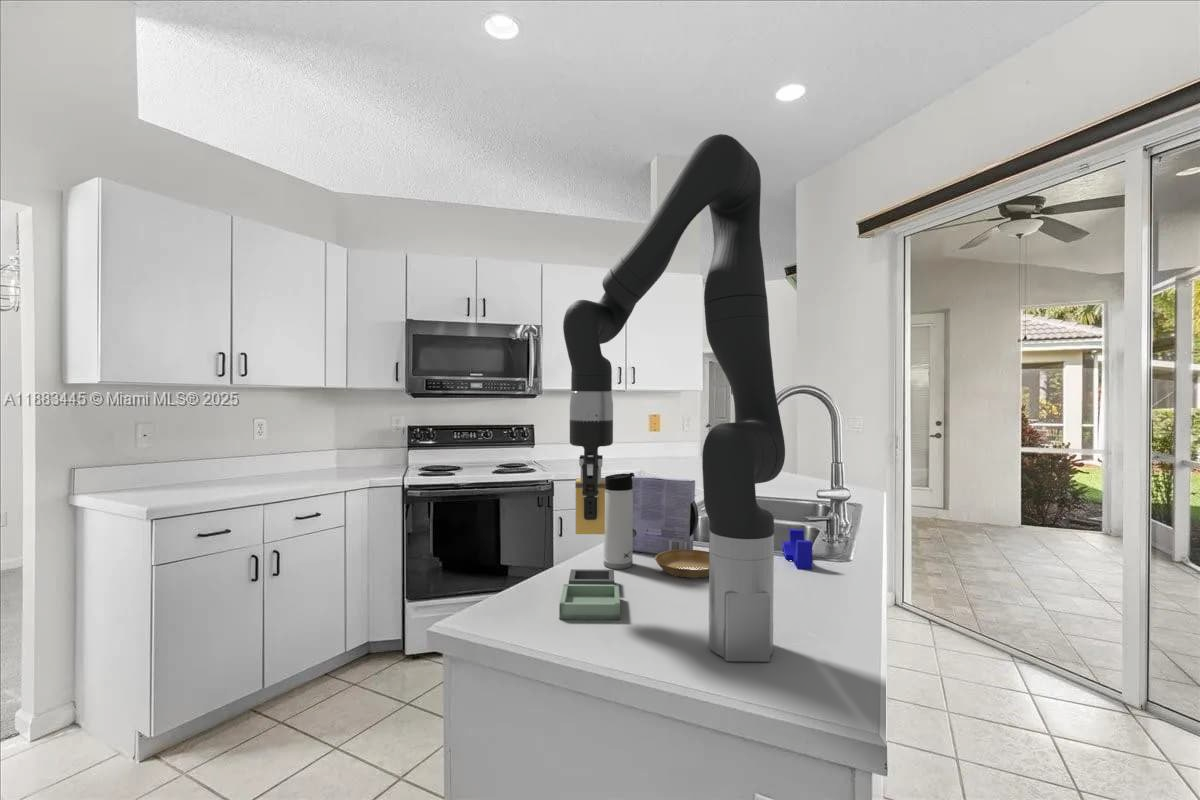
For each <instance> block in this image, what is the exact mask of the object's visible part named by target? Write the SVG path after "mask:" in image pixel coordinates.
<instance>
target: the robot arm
mask: <svg viewBox="0 0 1200 800" xmlns="http://www.w3.org/2000/svg"><path fill="white" fill-rule="evenodd" d="M761 180H762V179H761V171H760V167H759V165H758V163H757V161H756V159H755V158H754V157H753V155H752V154H751V153H750V152H749V151H748V150H747V149H746V148H745V146H743V145H742V143H740V141H738V139H736V138H735V137H733V136H731V135H728V134H724V133H723V134H722V133H720V134H714V135H711V136H709V137H707V138H706V139H704V140H702V141H701V142H700V143H699V144H698V145H697V146H696V147H695V149H694V150H693V151H692V152H691V154H690V155H689V156H688V158H687V159H686V161H685V163H684V164H683V166H682V167H681V169H680V171H679V172H678V174H677V176H676V177H675V179H674V180H673V182H672V184H671V185H670V187H669V189H668V190H667V192H666V193H665V195H664V196H663V197H662V200H661V201H660V202H659V204H658V206H657V208H656V209H655V211H654V212H653V214H652V215H651V217H650V218H649V219H648V222H647V223H646V224H645V226H644V227H643V228H642V230H641V232H640V233H639V234H638V235H637V236H636V238H635V240H633V242H632V243H631V244H630V246H629V247H628V248H627V250H626V251H624V253H623V254H622V255H621V256H620V257H619V259H618V260H617V261H616V262H615V263H614V265H613V266H612V267H611V268H610V269H609V270H608V272H606V275H605V276H604V278H603V279H602V284H601V285H602V289H603V291H604V293H603V294H602V296H601V298H600V300H598V302H596V301H592V300H586V299H578V300H576V301H574V302H572V303H571V304H570V305H569V306H568V308H567V309H566V311H565V313H564V317H563V321H562V322H563V323H562V325H563V326H562V329H563V330H562V331H563V337H564V341H565V345H566V346H565V347H566V351H567V356H568V360H569V363H570V366H571V373H570V375H571V376H570V377H571V380H570V382H571V386H570V387H571V388H570V389H571V392H570V400H569V443H570V445H571V446H574V447H582V448H583V454H580V455H579V458H578V459H579V467H580V478H581V483H582V484H583V491H582V494H583V498H584V519H585V520H596V519H597V498H598V496H599V493H598V484H599V483H600V482H601V479H602V467H603V454H601V455H600V454H599V447H600V448H601V447H608V446H611V445H613V443H614V402H613V401H614V399H613V392H612V391H613V390H612V389H613V386H612V385H613V384H612V383H613V381H612V379H613V378H612V377H613V374H612V373H613V369H612V363H611V361H610V360H609V359H607V358H606V357H605V356H603V353H602V348H601V345H602V344H605V343H609V342H610V341H612V340H613V339H614V338H616V336H617V335H618V334H619V333H620V332H621V331H622V330H623V328H624V326H625V325H626V323H627V322H628V319H630V316H631V315H632V313H633V310H634V309H635V307H636V304H637V303H638V302H639V301H640V300H641V299H642V298H643V297H644V296H645V295H646V294H647V293H648V291H650V289H651V288H652V287H653V286H654V284H656V283H657V282H658V280H659V279H660V278H661V277H662V275H663V274H664V272H665V271H666V269H667V268H668V266H669V263H670V261H671V260H672V257H673V255H674V252H675V250H676V248H677V245H679V244H678V243H679V241H680V239H681V238H682V236H683V234H684V232H685V230H686V229H687V228H688V226H689V225H690V224H691V222H692V221H693V220H694V219H695V218H696V217H697V216H698V215H699V214H700V213H701V212H702V211H703V210H704V209H705V208H706V207H709V211H710V217H711V222H712V223H711V224H712V225H711V226H712V232H713V233H712V234H713V252H712V258H711V260H710V261H711V262H710V266H709V269H708V272H707V276H706V280H705V285H704V291H703V292H704V293H703V305H704V319H705V330H706V336H707V340H708V344H709V345H710V347H711V351H712V353H713V354H714V356H715V358H716V361H717V362H718V364H719V366H720V367H721V370H722V371H723V373H724V375H725V377H726V379H727V381H728V384H729V386H730V389H731V392H732V398H733V403H734V405H733V406H734V413H735V416H734V417H735V418H734V419H735V422H734V421H733V422H725V423H720V424H717V425H716V426H714V427H712V428H711V430H710V431H709V432H708V433H707V434H706V437H705V439H704V443H703V446H702V447H703V448H702V455H701V456H702V459H701V460H702V461H701V462H702V463H701V464H702V467H701V468H702V487H703V488H702V489H703V506H704V508H705V512H706V515H707V518H708V520H709V521H708V522H709V530H708V532H709V533H708V535H709V545H708V546H709V548H708V550H709V551H708V552H709V577H708V648H709V649H710V650H711V651H712V652H713V653H714V654H716V655H717V656H720V657H723V659H724V660H725V661H726V662H765V663H766V662H771V656H772V655H773V653H774V575H775V574H774V570H775V569H774V562H775V561H774V559H775V558H774V557H775V556H774V555H775V520H774V519H775V518H774V515H773V514H772V512H770V511H769V510H766V509H764V508H761V507H760V506H759V505H758V502H757V495H756V484H757V485H758V484H763V483H767V482H770V481H772V480H774V479H776V478H777V477H778V475H780V473H781V471H782V470H783V467H784V464H785V458H786V444H785V443H786V442H785V436H784V431H783V426H782V420H781V415H780V410H779V406H778V399H777V395H776V394H777V393H776V388H775V379H774V370H773V360H772V351H771V349H772V348H771V339H770V320H769V319H770V318H769V306H768V305H769V304H768V296H767V288H766V281H765V279H766V278H765V267H764V261H763V260H764V259H763V250H762V244H761V243H762V242H761V231H760V230H761V229H760V228H761V225H760V223H761V222H760V220H761V195H762V194H761V193H762V192H761V190H762V186H761V185H762V184H761V183H762V181H761ZM587 484H594V485H595V489H586V485H587Z"/></svg>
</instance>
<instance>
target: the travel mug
mask: <svg viewBox="0 0 1200 800" xmlns="http://www.w3.org/2000/svg"><path fill="white" fill-rule="evenodd" d="M634 475H635V473H634V472H628V473H616V474H615V473H614V474H610V475H607V476H605V477H604V478H603V479H605V534H603V566H605V567H606V568H608V569H611V570H625V569H628V568H631V567H632V566H633V562H634V561H633V552H634V551H633V492H632V491H633V486H632V484H633V482H632V476H633V477H634Z"/></svg>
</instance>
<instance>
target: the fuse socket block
mask: <svg viewBox="0 0 1200 800" xmlns="http://www.w3.org/2000/svg"><path fill="white" fill-rule="evenodd" d="M568 584H596V585H615V569H591V568H590V569H588V568H587V569H583V568H582V569H580V568H577V569H570V572H569V577H568Z"/></svg>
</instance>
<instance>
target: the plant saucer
mask: <svg viewBox="0 0 1200 800" xmlns="http://www.w3.org/2000/svg"><path fill="white" fill-rule="evenodd" d="M654 560H655V562H656V563H657V564H658V566H659V567H660V568H661V569H662V570H663V572H665V573H667V574H668V573H669V574H668V575H671V574H672V575H671V576H674V575H676V576H675V577H678V576H680V578H684V577H691V578H690V579H700V578H699V577H704V578H708V577H707V576H709V551H707V550H706V551H705V550H699V549H693V550H671V551H666V552H662V553H660V554H655V558H654ZM677 567H678V568H677ZM680 567H681V568H683V567H685V568H686V567H688V568H689V567H691V568H692V567H694V568H696V567H697V568H699V567H700V568H699V569H698V570H690V569H684V568H683V569H681V568H680ZM702 567H703V568H708V569H703V568H702ZM679 568H680V569H679ZM697 568H696V569H697ZM701 568H702V569H701ZM700 569H701V570H700Z"/></svg>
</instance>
